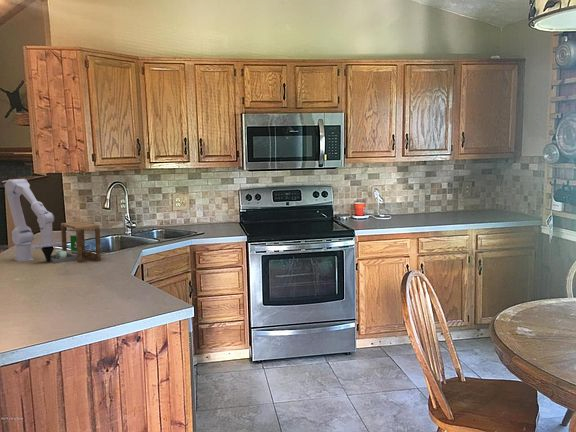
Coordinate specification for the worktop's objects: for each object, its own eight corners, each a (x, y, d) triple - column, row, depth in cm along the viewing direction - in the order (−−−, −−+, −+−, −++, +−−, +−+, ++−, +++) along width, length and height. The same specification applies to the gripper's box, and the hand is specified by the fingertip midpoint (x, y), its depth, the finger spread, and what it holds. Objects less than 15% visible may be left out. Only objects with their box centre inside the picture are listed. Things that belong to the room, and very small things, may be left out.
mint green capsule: (58, 260, 273) (58, 251, 273) (65, 259, 276) (64, 250, 275) (61, 261, 271) (60, 252, 270) (68, 260, 273) (67, 251, 273)
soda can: (70, 253, 294) (69, 233, 293) (72, 251, 301) (71, 231, 300) (84, 253, 296) (83, 232, 295) (85, 250, 303) (84, 230, 302)
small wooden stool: (62, 257, 285) (60, 223, 282) (83, 254, 293) (82, 221, 291) (79, 263, 269) (77, 227, 267) (100, 260, 278) (99, 225, 275)
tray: (46, 260, 276) (45, 256, 275) (68, 257, 284) (68, 253, 284) (54, 264, 267) (54, 259, 267) (77, 261, 275) (77, 256, 275)
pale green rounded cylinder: (54, 259, 277) (54, 250, 277) (61, 258, 280) (61, 249, 279) (57, 260, 275) (56, 251, 274) (64, 259, 277) (63, 250, 277)
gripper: (34, 238, 261) (36, 264, 263) (63, 235, 271) (64, 260, 273) (30, 236, 266) (31, 262, 268) (58, 233, 276) (59, 258, 278)
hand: (48, 261), depth 271 cm, fingers closed
